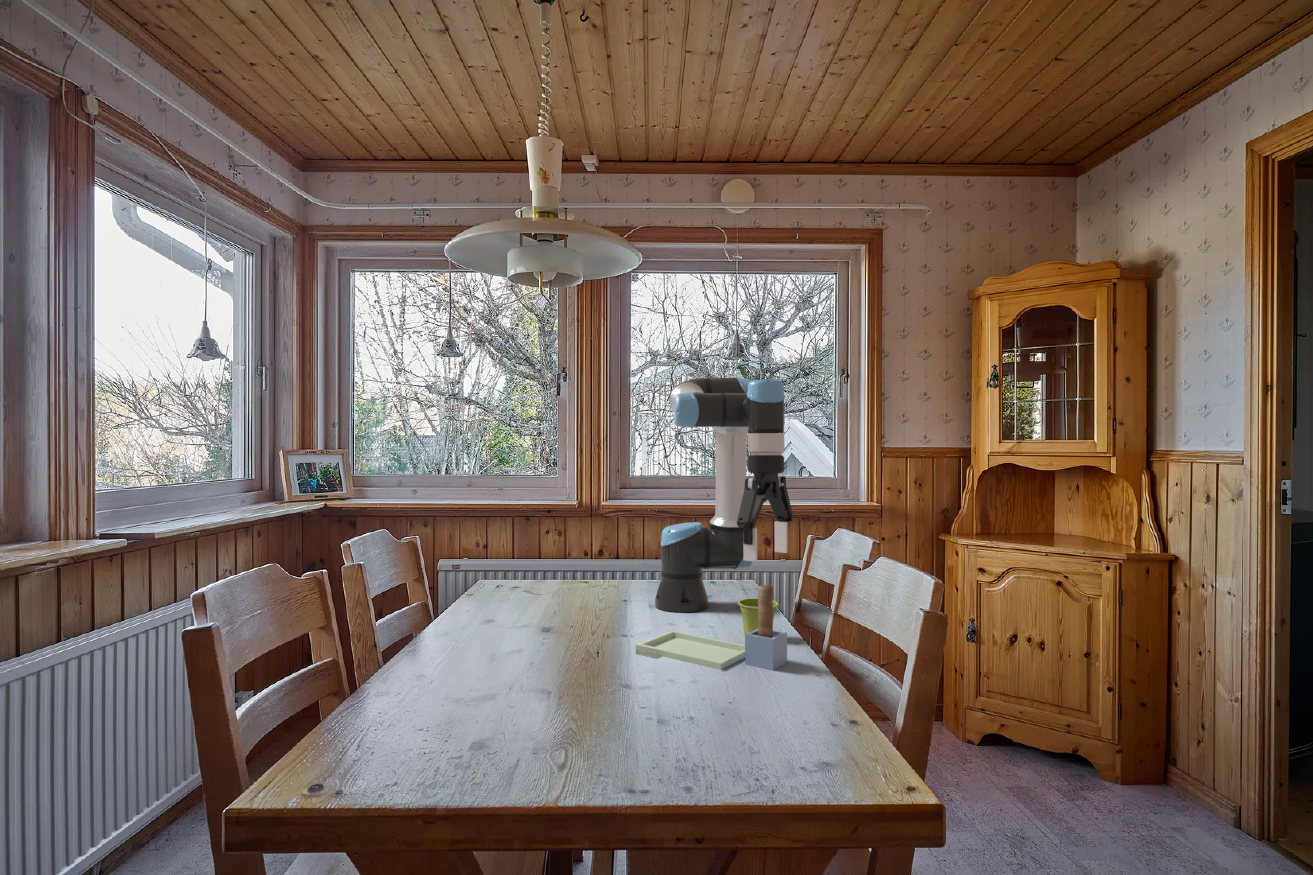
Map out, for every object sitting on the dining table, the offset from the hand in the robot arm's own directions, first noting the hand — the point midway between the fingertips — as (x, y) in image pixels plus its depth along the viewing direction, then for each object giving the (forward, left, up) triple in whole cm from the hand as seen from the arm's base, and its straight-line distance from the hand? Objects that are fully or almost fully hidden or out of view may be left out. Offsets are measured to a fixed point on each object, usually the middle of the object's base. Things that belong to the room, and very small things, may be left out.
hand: (766, 556), depth 144 cm
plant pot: (-17, -11, -23) cm, 31 cm away
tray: (+2, -17, -23) cm, 29 cm away
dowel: (0, 0, -22) cm, 22 cm away
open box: (0, 0, -23) cm, 23 cm away
